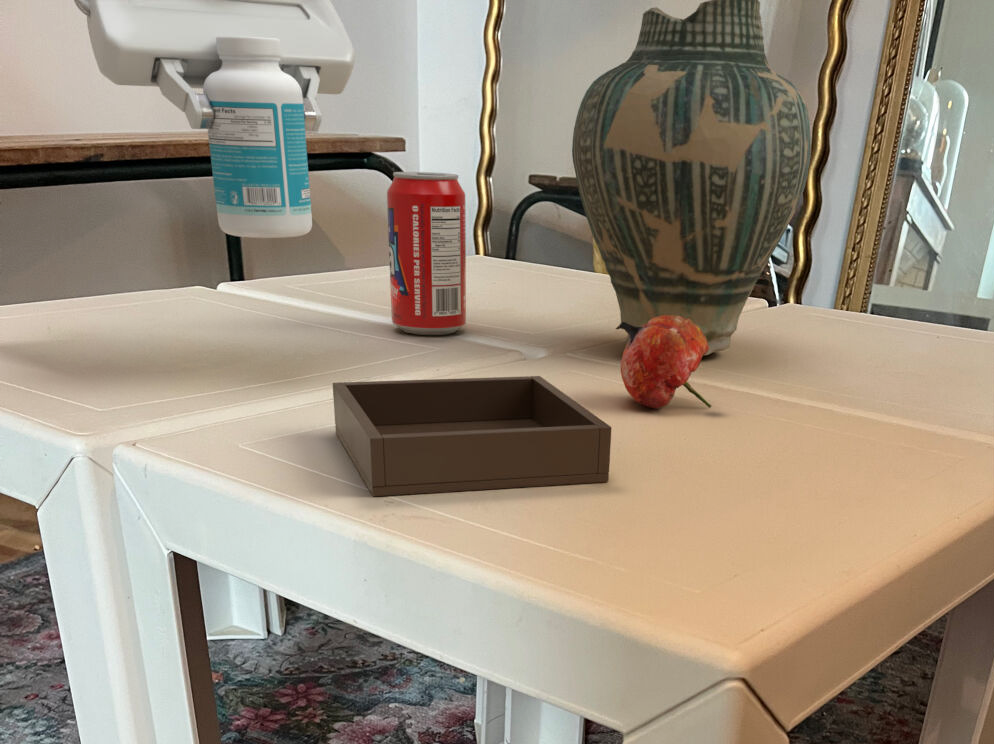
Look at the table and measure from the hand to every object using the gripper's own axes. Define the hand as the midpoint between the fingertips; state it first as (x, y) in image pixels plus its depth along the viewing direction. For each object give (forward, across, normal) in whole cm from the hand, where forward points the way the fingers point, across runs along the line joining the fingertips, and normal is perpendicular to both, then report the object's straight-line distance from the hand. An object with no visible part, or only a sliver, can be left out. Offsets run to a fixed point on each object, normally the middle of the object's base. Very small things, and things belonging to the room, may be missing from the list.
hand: (259, 124), depth 87 cm
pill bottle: (+5, 0, +6) cm, 8 cm away
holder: (+33, +1, -6) cm, 34 cm away
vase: (+18, +40, +10) cm, 45 cm away
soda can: (+3, +24, +25) cm, 35 cm away
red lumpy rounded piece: (+30, +24, -2) cm, 38 cm away
